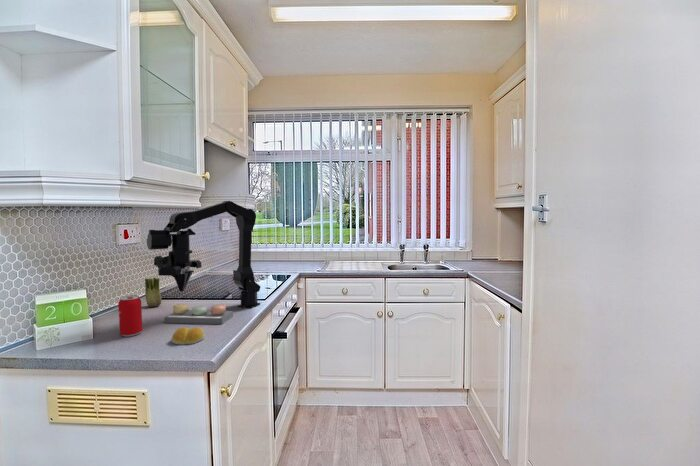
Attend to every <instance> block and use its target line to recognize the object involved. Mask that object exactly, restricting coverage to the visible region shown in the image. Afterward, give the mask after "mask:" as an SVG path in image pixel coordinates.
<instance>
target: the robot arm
mask: <svg viewBox="0 0 700 466" xmlns="http://www.w3.org/2000/svg"><path fill="white" fill-rule="evenodd" d="M224 213H227V214H229V215H230V216H231V217H233V218H235V223H236V226H237V229H238V234H239V236H238V237H239V238H238V240H239V241H238V267H237V268H236V269H235V270H234V269H233V271H232V272H233V276H232V281H234V284H235V285H236V287H237V289H238V291H240V304H238V307H241V308H247V309H252V308H255V307H256V306H259V305H261V302H258V292H260V290H261V286H260V284H259V283H257V282H256V280H255V273H254V270H253V269H252V264H251V263H252V232H253V229H254V227H255V225H256V219H257V214H256V212H255V211H254V210H253V209H251V208H246V207H244V206H242V205H239V204H237V203H235V202H233V201H232V200H223V201H222V202H220V203H216V204H212V205H209V206H206V207H203V208H200V209H196V210H191V211H182V212H175V213H172V214H171V215H170V217H169V222H168V223H167V224H166V226H165V227H164V228H163V229H148V233H147V238H146V246H147V249H148V250H149V251H153V250H167V249H169V247H171V250H170V251H169V252H168V255H167V256H164V257H163V256H162V255H157V256H155V257H154V259H153V265H154V266H156V267H157V268H158V269H157V275H158V276H163V277H164V276H166V277H167V276H169V277H170V276H172V277H173V279H174V280H175V282H176V285H177V287H178V290H179V292H184V291H185V289H186V287H187V285H188V284H189V283H188V282H189V281H190V279H191V276H192V274H193V273H194V270H192V269H191V268H196V269H201V268H202V262H201V261H200V260H199V259H194V260H193V259H191V254H192V253H193V249H191V248H190V247H191V246H190V236H195V235H196V232H194V231H193V230H192V228H190V227H192V226H194V225H196V224H197V223H198V222H200V221H202V220H206V219H208V218H212V217H214V216H218V215H220V214H224Z"/></svg>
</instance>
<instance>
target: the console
mask: <svg viewBox="0 0 700 466" xmlns="http://www.w3.org/2000/svg"><path fill="white" fill-rule="evenodd" d="M233 317H234V310H226V312H224V313H221V314H211V310H207V313H206V314H204V315H198V316H195V315H192V309H188V311H187V312H184V313H173V312H172V313H170V314H168V315H166V316H164V317H163V318H164V320H163V321H164V323H165V324H195V325H196V324H201V325H223V324H225V323H226V322H227V321H229V320H230V319H232V318H233Z"/></svg>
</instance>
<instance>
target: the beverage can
mask: <svg viewBox="0 0 700 466" xmlns="http://www.w3.org/2000/svg"><path fill="white" fill-rule="evenodd" d="M117 307H118V325H119V335H120V336H123V337H129V338H130V337H134V336H137V335H140V333H142V332H143V315H142V312H143V310H142V299H141V298H140V296H139V294H138V295H136V294H135V295H134V294H132V295H124V296H121V297H120V298H119V300H118V303H117Z"/></svg>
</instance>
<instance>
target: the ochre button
mask: <svg viewBox="0 0 700 466" xmlns="http://www.w3.org/2000/svg"><path fill="white" fill-rule="evenodd" d="M188 310H189V304H187V303H179V304H175V305H173V306H172V313H184V312H187V311H188Z"/></svg>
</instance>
